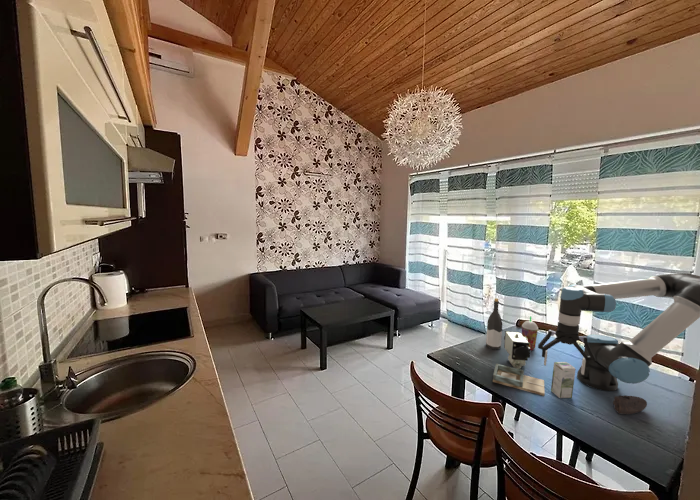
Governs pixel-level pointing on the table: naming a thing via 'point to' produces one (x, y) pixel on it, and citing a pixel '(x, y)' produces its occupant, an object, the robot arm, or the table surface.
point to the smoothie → (530, 332)
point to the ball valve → (516, 348)
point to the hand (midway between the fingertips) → (563, 368)
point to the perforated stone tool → (629, 404)
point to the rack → (517, 379)
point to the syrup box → (563, 379)
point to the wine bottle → (494, 328)
